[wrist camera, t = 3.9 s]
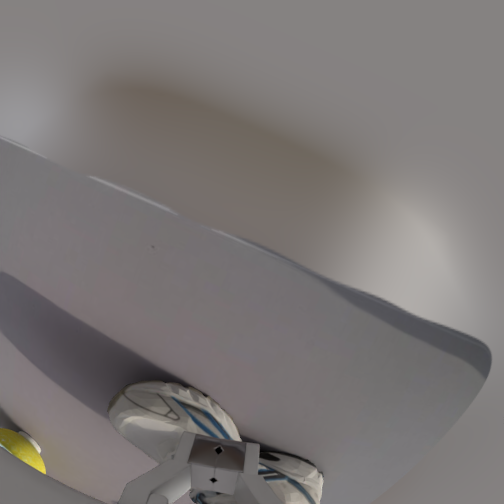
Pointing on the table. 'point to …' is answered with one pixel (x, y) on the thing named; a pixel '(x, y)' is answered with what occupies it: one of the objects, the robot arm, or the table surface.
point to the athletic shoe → (205, 423)
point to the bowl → (22, 448)
